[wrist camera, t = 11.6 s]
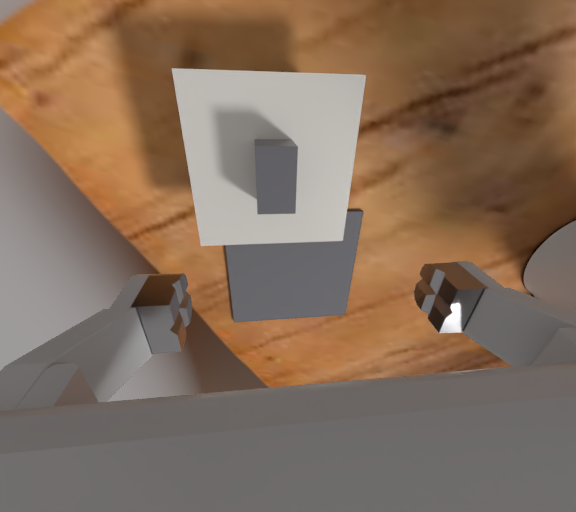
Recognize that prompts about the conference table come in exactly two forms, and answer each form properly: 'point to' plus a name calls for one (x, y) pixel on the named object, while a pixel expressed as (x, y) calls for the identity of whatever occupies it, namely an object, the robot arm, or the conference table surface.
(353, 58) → the conference table surface
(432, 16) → the conference table surface
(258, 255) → the mat
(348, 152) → the lid
